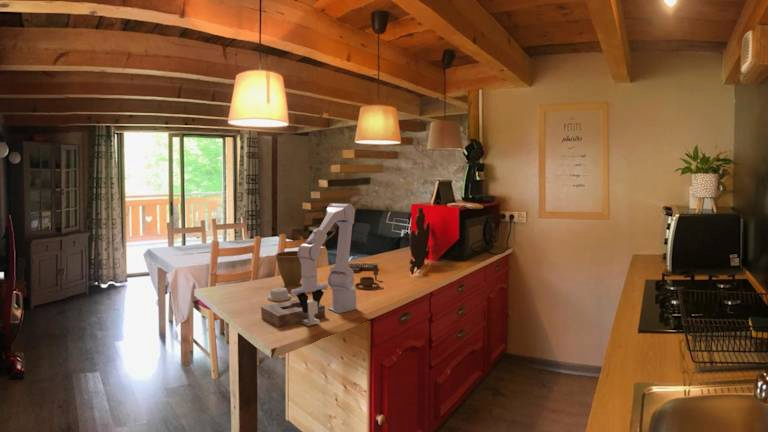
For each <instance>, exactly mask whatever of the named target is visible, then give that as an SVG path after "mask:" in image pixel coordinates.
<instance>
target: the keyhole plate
mask: <svg viewBox="0 0 768 432" xmlns="http://www.w3.org/2000/svg"><path fill="white" fill-rule="evenodd" d="M308 300H310V298H308ZM325 307H326V305H324V304H321V303H319V307H318V313H316V314H314V318H316V319H321V318H325V316H326V308H325ZM260 311H261V312H260V313H261V319H263V320H265V321H266V322H268V323H270V324H271V325H274V326H276V327H278V328H282V327H286V326H290V325H295V324H299V323H302V321H301V320H302V319H306V318H307V314H305V313H303V310H302V307H301V304H300V301H299V299H298V298H297V299H294V300H289V301H288V300H287V301H282V302H279V303H274V304H273V303H272V304H268V305H263V306H261V307H260Z"/></svg>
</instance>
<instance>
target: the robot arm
mask: <svg viewBox="0 0 768 432" xmlns="http://www.w3.org/2000/svg"><path fill="white" fill-rule="evenodd" d="M325 213H326V215H325V217H324V219H323V221H321V224H320V225H319V227H318V228H315V229H314V230H312V233H310V235H309V237H308V238H307V239H306V241H305V243H302V244H301V245H299V246H298V250H297V251H298V252H297V254H298V257H299V259H300V263H301V273H302V279H301V286H300V287H296V288H293V289H290V296H293V297H294V296H296V297H297V300H298V299H299V301H300V304H301V307H302V310H303V312H304V313H307V300H308V299H309V296H308V295H307V294H308V293H311V295H312V299H313V300H315V301H317V304H318V307H319V304H321V303H320V302H321V300H322V297H323V295H324V290H325V291H326V290H328V289H329V288H328V287H330V290H332V294H331V295H332V307H328V310H330V311H332V312H334V313H337V314H342V313H347V312H351V311H354V310H357V309H358V307H357V292H356V288H354V287H353V286H354V285H355V277H354V270H353V269H352V268H351V267H350V266H349V263H350V262H349V261H350V253H351V252H350V251H351V245H352V244H351V243H352V231H353V225H354V224H355V217H356V216H355V215H356V209H355V208H354V206H353V204H351V203H334V202H331V203H329V205H327V208H326V211H325ZM334 224H337V225H338V227H339V228H338V236H337V237H338V238H337V249H336V257H335V258H336V259H335V264H334V265H333V266H332V267H331V268H330V269H329V273H328V276H327V283H321V284H318V258H319V257H320V255H321V250H322V246H323V244H324V243H325V241H326V240H327V238H328V235H327V233H328V232H329V231H330V230H331V228H332V227H333V226H334Z"/></svg>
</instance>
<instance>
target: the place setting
mask: <svg viewBox="0 0 768 432" xmlns="http://www.w3.org/2000/svg"><path fill="white" fill-rule="evenodd" d="M378 275H379V269H373V276H374V277H373V276H363V277H360V278H359V282H357V283H354V287H355V289H357V290H361V291H371V290H373V292H374V291H378V290H384V289H385V287H384V286H382V287H380V283H378V282H376V281H377V280H378V277H377V276H378ZM372 286H373V287H372Z"/></svg>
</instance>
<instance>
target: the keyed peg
mask: <svg viewBox="0 0 768 432" xmlns="http://www.w3.org/2000/svg"><path fill="white" fill-rule="evenodd" d="M309 299H310V298H309ZM303 313H304V312H303ZM316 313H318V304H317V301H315V300H313V298H312V299H310V300H307V313H305V314H307V318H306V319H302V320H301V321H302V322H301V324H303V325H305V326H307V327H310V326H313V325H319V324H320V323H321V320H320V319H319V318H317V319H316V318H314V314H316Z"/></svg>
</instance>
